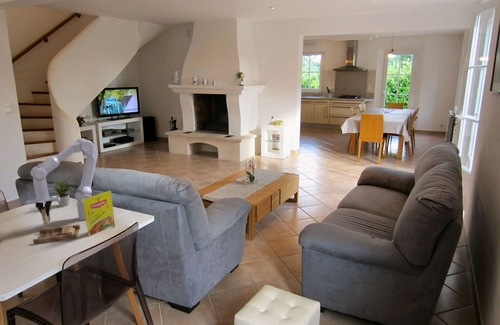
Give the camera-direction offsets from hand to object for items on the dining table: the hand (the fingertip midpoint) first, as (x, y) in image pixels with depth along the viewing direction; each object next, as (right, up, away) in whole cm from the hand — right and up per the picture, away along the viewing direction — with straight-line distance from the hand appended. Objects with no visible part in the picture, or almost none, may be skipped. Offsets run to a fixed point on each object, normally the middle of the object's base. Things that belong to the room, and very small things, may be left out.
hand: (45, 215), depth 179 cm
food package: (+30, -8, -2) cm, 31 cm away
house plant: (-8, +1, +33) cm, 34 cm away
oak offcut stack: (+15, -8, -6) cm, 18 cm away
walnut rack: (+10, -10, -7) cm, 16 cm away
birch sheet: (0, -4, +1) cm, 4 cm away
